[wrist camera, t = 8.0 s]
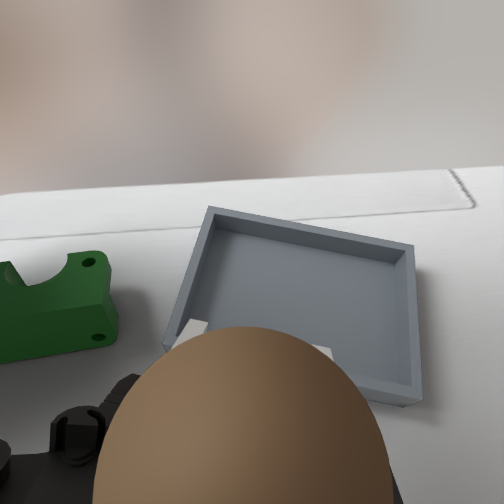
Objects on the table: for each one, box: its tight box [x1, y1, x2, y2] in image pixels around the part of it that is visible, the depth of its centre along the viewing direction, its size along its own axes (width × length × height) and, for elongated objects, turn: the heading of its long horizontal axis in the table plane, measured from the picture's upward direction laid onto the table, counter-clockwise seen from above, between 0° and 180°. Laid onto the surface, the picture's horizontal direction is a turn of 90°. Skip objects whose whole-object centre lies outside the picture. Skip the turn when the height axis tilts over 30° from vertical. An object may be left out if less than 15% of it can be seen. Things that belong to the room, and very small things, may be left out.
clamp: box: [0, 251, 118, 364], centre depth 29 cm, size 12×6×9 cm, turn 95°
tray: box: [162, 206, 423, 407], centre depth 32 cm, size 20×14×4 cm
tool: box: [92, 326, 394, 504], centre depth 10 cm, size 6×6×12 cm
